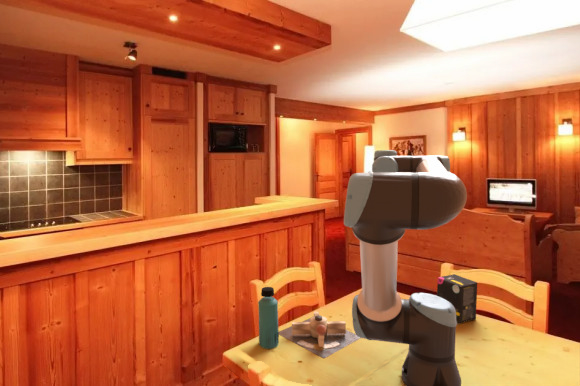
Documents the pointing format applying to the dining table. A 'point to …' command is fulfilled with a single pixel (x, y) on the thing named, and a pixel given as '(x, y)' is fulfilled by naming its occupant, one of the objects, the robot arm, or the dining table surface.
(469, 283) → the tampon box
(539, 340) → the dining table surface
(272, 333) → the beverage bottle
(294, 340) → the stand
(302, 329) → the capstan
